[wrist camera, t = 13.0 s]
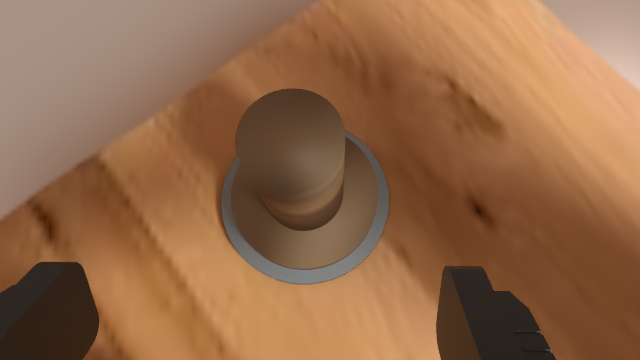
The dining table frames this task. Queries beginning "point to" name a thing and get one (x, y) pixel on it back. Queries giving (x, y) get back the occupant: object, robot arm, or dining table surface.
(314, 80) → the dining table surface
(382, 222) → the coaster
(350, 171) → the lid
